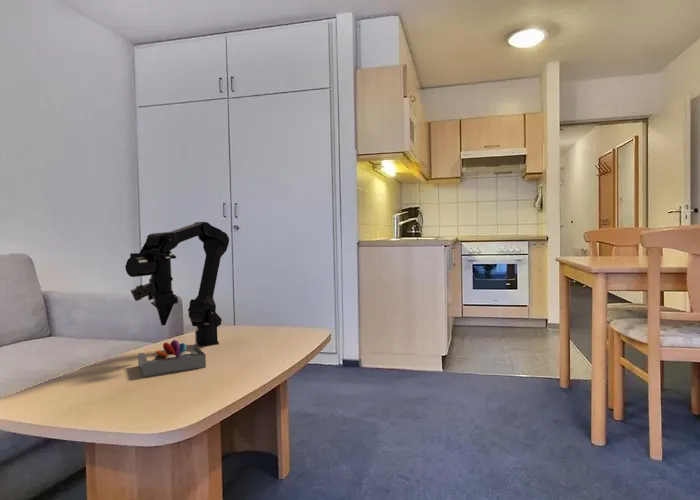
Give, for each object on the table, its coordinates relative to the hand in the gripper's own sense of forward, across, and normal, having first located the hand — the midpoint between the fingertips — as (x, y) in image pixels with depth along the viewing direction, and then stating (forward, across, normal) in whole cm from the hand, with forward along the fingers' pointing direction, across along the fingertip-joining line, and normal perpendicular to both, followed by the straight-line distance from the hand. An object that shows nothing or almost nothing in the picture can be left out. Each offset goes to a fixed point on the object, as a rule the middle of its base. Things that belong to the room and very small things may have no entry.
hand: (163, 325), depth 139 cm
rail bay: (+10, +12, 0) cm, 16 cm away
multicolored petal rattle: (+10, +12, +1) cm, 15 cm away
